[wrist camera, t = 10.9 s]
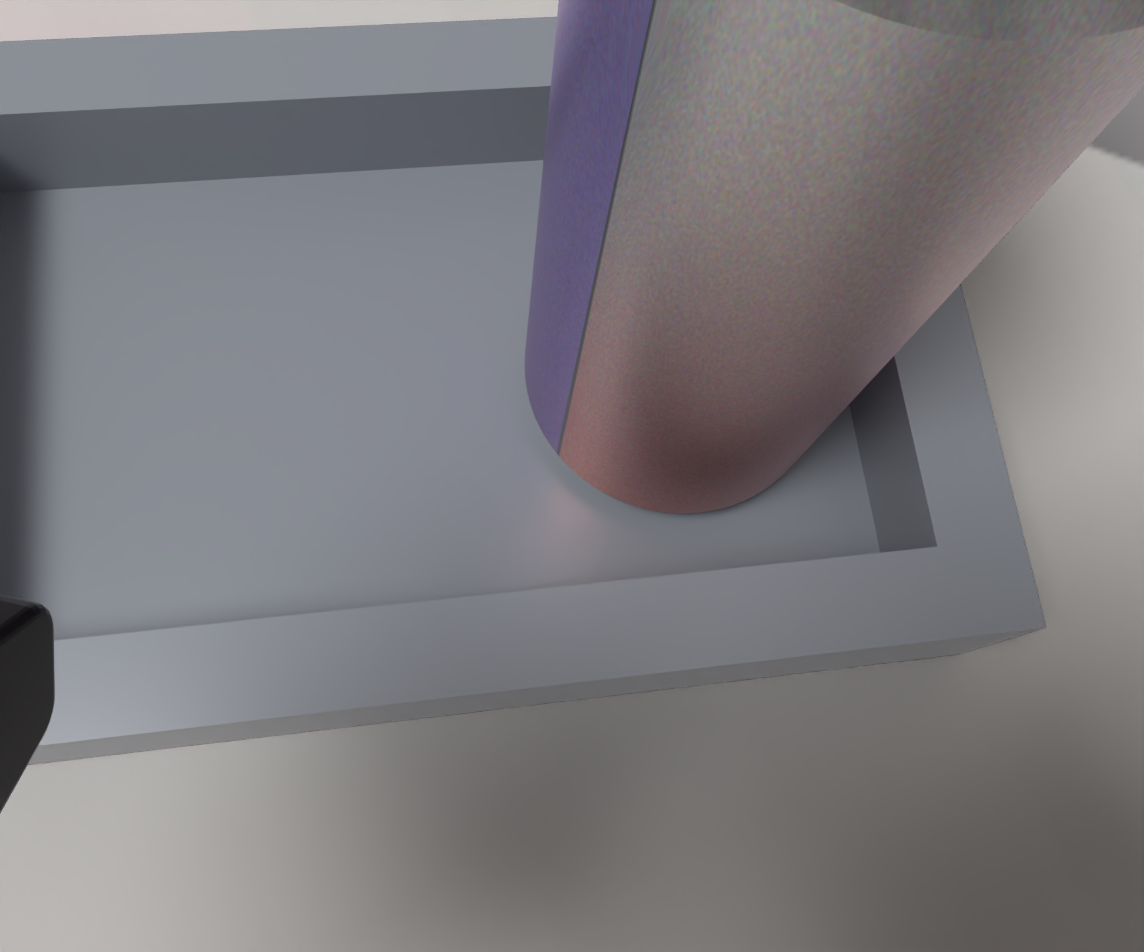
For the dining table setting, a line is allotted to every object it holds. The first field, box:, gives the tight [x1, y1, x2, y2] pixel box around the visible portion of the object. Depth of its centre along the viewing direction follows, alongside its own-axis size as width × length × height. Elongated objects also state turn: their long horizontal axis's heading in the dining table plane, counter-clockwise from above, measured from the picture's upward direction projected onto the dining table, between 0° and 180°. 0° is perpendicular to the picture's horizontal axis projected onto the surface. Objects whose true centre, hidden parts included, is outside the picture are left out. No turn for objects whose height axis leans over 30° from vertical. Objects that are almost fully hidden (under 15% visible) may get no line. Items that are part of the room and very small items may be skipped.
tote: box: [0, 17, 1046, 765], centre depth 21 cm, size 20×13×4 cm, turn 97°
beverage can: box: [525, 0, 1144, 514], centre depth 15 cm, size 6×6×15 cm
